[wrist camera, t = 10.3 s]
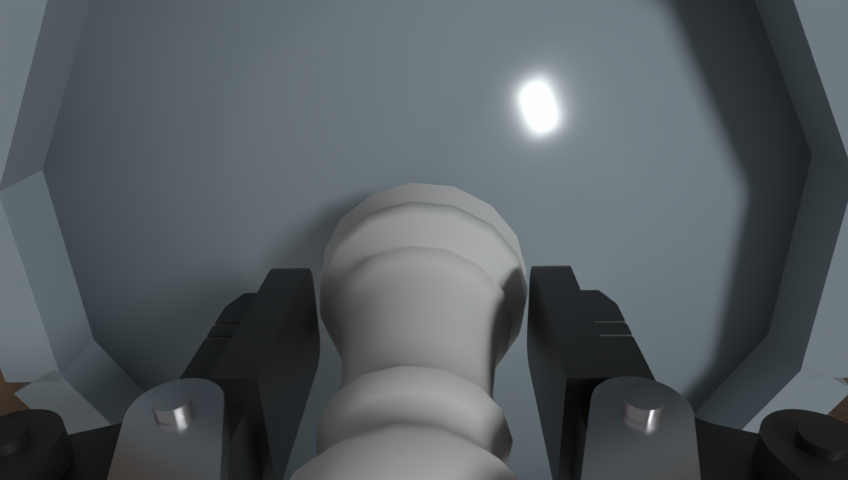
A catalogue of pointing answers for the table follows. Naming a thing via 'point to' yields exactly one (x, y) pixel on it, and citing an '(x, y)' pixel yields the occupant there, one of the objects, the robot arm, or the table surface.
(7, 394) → the table surface
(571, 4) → the round tray
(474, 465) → the rook chess piece
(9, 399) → the table surface
